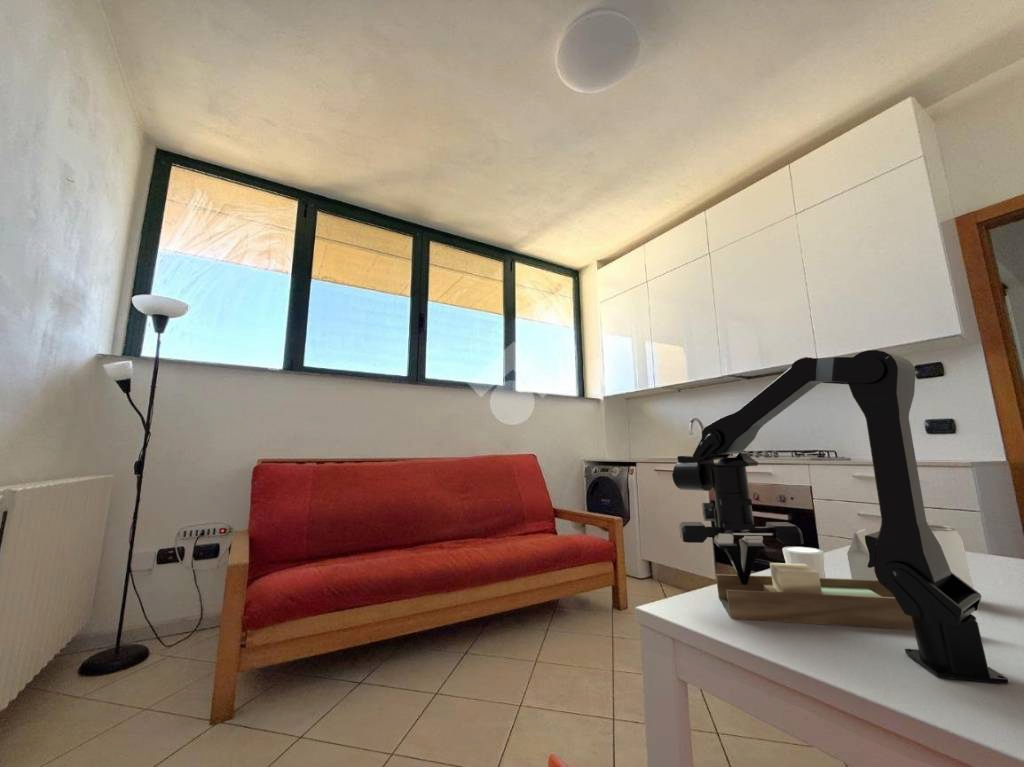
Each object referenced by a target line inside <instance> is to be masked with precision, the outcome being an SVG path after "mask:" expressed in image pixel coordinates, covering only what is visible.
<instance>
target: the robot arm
mask: <svg viewBox="0 0 1024 767" xmlns="http://www.w3.org/2000/svg"><path fill="white" fill-rule="evenodd" d="M819 384H836V385H848V387H849V389H850V392H851V395H852V397H853V399H854V401H855V403H856V404H857V406H858V407H859V408H860V411H861V412H862V413H863V415H864V417H865V421H866V428H867V434H868V440H869V447H870V452H871V453H870V454H871V459H872V466H873V472H874V478H875V486H876V491H877V498H878V505H879V512H880V518H881V522H880V528H879V531H876V532H872V533H869V535H866V536H865V543H866V546H867V548H868V552H869V563H868V565H867V566H868V567H869V568H872V567H874V572H875V575H876V578H877V579H878V581H879V583H880V584H882V585H883V586H884V587H885V588H886V589H887V590H889V591H890V592H891V593H893V595H894V597H895V598H896V600H897V602H898V603H899V605H900V607H901V609H902V610H903V612H904V613H905V614H906V615H909V616H912V621H913V626H914V635H915V640H916V644H917V649H916V648H915V649H914V648H904V652H905V654H906V655H907V656H908V657H910V658H911V659H913V660H914V661H915V662H916V663H919V664H920V665H921V666H922V667H924V668H925V669H927V670H928V671H929V672H931V673H932V674H933V675H935V677H938V678H941V679H952V680H953V679H954V680H964V681H974V682H975V681H976V682H987V683H988V682H989V683H999V684H1009V683H1010V682H1009V678H1008V677H1006V676H1005V675H1003V674H1002V673H1000V672H998V671H997V670H995V669H993V668H991V667H990V666H988V662H987V658H986V653H985V652H986V651H985V649H984V645H983V640H982V636H981V632H980V628H979V623H978V620H977V618H976V616H974V615H973V613H974V612H977V611H978V610H979V607H980V603H981V601H982V594H981V593H980V592H978V591H977V590H976V589H975V588H974V587H973V588H974V589H973V588H972V587H970V586H969V585H968V584H967V583H965V582H964V581H963V580H961V579H960V578H959V577H957V576H956V575H955V574H953V573H952V572H951V571H950V568H949V565H948V563H947V560H946V558H945V555H944V553H943V550H942V548H941V545H940V544H939V542H938V540H937V539H936V537H935V536H934V534H933V532H932V531H931V529H930V527H929V526H928V525H929V524H928V521H927V517H926V516H927V515H926V511H925V510H926V509H925V505H924V504H925V503H924V499H923V493H922V489H921V487H922V486H921V482H920V476H919V470H918V464H917V459H916V452H915V447H914V442H913V434H912V429H911V423H910V412H911V408H912V404H913V401H914V396H915V388H916V386H915V385H916V369H915V367H914V364H913V362H911V361H910V360H908V359H907V358H905V357H903V356H901V355H898V354H895V353H891V352H886V351H884V350H883V351H882V350H878V349H871V350H869V349H868V350H865V351H861V352H859V353H857V354H856V355H854V356H837V357H836V356H835V357H834V356H833V357H832V356H831V357H817V358H816V357H807V356H805V357H801V358H798V359H796V360H795V361H794V362H793V363H792V365H791V366H790V367H789V368H787V370H785V371H784V372H783V373H781V375H779V376H778V377H777V378H775V379H774V380H773V381H772V382H771V383H770V384H769V385H767V386H766V387H765V388H764V389H763V390H761V391H760V392H758V393H757V394H756V395H755V396H754V397H753V398H751V399H750V400H749V401H747V403H745V404H744V405H743V406H741V407H740V408H739V409H737V410H735V411H734V412H731V413H729V414H726V415H724V416H721V417H719V418H717V419H715V420H713V421H712V422H710V423H708V424H706V426H704V428H702V430H701V439H700V441H699V442H698V445H697V446H696V448H695V450H694V452H693V454H692V455H678V456H677V462H676V463H675V465H674V466H673V472H672V476H671V477H672V481H673V483H674V485H675V486H676V488H677V489H678V490H682V491H702V492H704V491H705V492H708V491H711V490H712V489H713V493H714V494H713V495H714V503H715V504H714V503H713V502H702V504H701V508H702V509H701V510H702V516H703V521H705V522H714V526H705V524H703V523H702V521H681V523H680V524H679V534H680V538H681V540H682V542H683V543H690V544H691V543H694V544H695V543H696V544H697V543H699V544H700V543H701V544H703V543H704V542H705V541H706V540H707V539H708V538H713V543H714V544H715V545H716V546H717V547H718V548H719V549H723V550H724V552H725V553H726V556H727V557H728V558H729V560H730V562H731V564H732V565H731V566H733V569H734V572H735V573H736V574H735V575H737V576H738V578H739V580H740V582H741V584H742V585H747V584H748V580H749V577H750V575H751V574H752V570H753V566H754V563H755V560H756V559H757V556H758V555H759V553H760V550H765V549H766V545H765V544H764V543H763V541H764V539H776V540H778V541H779V542H780V543H782V544H783V545H803V544H804V542H805V541H804V537H803V532H802V529H800V528H799V527H798V525H796V524H792V523H790V522H787V521H786V522H785V521H783V522H782V521H766V522H765V526H756V524H755V521H754V513H753V508H752V507H753V502H752V499H751V494H750V487H749V480H748V473H747V467H756V466H758V465H759V462H758V461H756V460H755V459H753V458H752V457H751V456H750V455H749V454H748V453H747V452H744V451H745V450H746V449H747V448H748V447H749V445H750V444H752V442H754V440H755V439H756V437H757V435H758V433H759V431H760V430H761V429H762V428H763V427H764V426H765V425H766V424H767V423H769V422H770V421H771V420H772V419H774V418H775V417H777V416H778V415H779V414H780V413H782V412H784V411H785V410H786V409H788V408H789V407H790V406H791V405H793V403H795V402H796V401H797V400H799V399H800V398H802V397H803V396H804V395H806V394H807V393H808V392H810V391H811V390H812V389H814V388H815V387H816V386H817V385H819ZM735 454H736V456H734V457H733V456H732V455H735ZM730 456H732V457H730ZM715 460H718V461H717V463H715ZM738 538H739V539H738ZM734 539H738V541H739V542H738V543H739V546H740V547H739V546H738V544H737V543H735V542H734ZM739 548H740V551H739Z"/></svg>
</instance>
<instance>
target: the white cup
mask: <svg viewBox="0 0 1024 767" xmlns="http://www.w3.org/2000/svg"><path fill="white" fill-rule="evenodd" d="M781 551H782V554H783V557H784V561H785V563H793V564H806V565H808V566H809V567H811V568H812V569H814V570H816V571H817V572H818V573H819V578H826V570H825V557H824V556H825V554H824V552H825V551H824V550H822V549H819V548H815V547H810V546H807V547H806V546H800V545H799V546H798V545H797V546H785V547H782V550H781Z"/></svg>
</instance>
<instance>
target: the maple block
mask: <svg viewBox="0 0 1024 767" xmlns="http://www.w3.org/2000/svg"><path fill="white" fill-rule="evenodd" d="M769 569H770V576H772V583H773V587H774V588H775V589H776V590H777V591H778V592H789V593H812V594H822V591H821V585H820V579H819V573H818V572H817V571H816V570H814V569H812V568H811V567H809V566H808V565H806V564H793V563H786V562H785V563H784V562H783V563H782V562H769Z"/></svg>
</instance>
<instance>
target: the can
mask: <svg viewBox="0 0 1024 767" xmlns="http://www.w3.org/2000/svg"><path fill="white" fill-rule="evenodd" d="M928 526H929V527H930V529H931V531H932V532H933V534H934V536H935V537H936V539H937V540H938V542H939V544H940V545H941V548H942V550H943V553H944V555H945V558H946V560H947V563H948V565H949V568H950V571H951V572H952V573H953V574H955V575H956V576H957V577H959V578H960V579H961V580H963V581H964V582H965V583H967V584H968V585H969V586H970V587H972V588H973V589H974V590H975V588H974V584H973V581H972V580H973V579H972V576H971V572H970V571H971V570H970V567H969V562H968V557H967V554H966V549H965V546H964V545H965V544H964V543H963V538H962V537H961V535H960V534H959V533H958V532H957V528H955V527H953V526H946V525H933V524H928Z"/></svg>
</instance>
